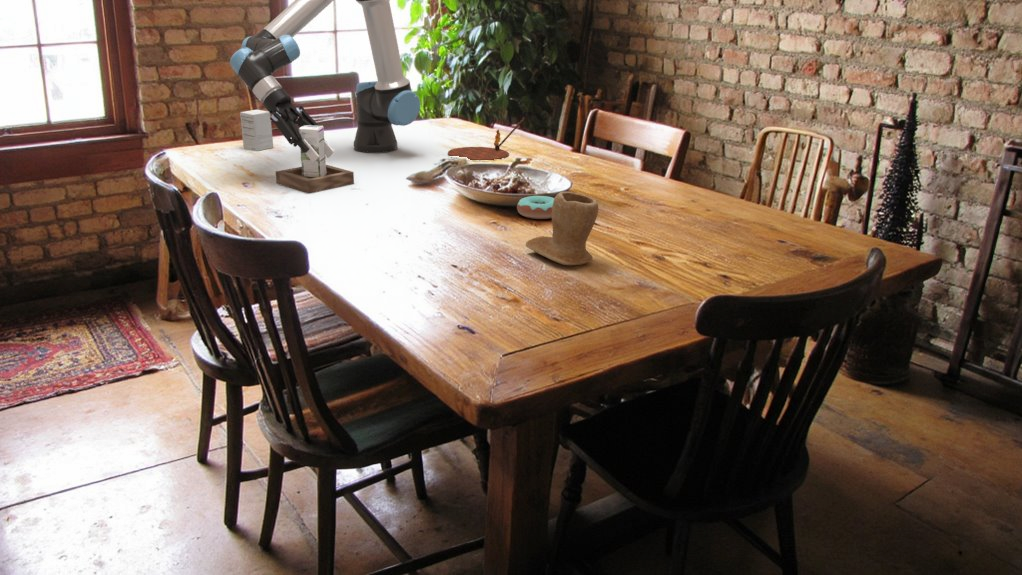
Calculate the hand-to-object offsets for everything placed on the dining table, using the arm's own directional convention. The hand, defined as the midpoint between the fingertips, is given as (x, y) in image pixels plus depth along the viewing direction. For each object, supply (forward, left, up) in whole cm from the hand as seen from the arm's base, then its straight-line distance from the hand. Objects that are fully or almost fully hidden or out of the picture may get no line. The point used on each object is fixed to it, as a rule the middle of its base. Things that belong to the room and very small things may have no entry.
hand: (323, 156), depth 244 cm
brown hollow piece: (+1, +91, -9) cm, 91 cm away
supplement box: (-14, -57, -8) cm, 60 cm away
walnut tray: (+1, -3, -8) cm, 9 cm away
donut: (-22, +64, -9) cm, 68 cm away
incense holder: (-67, +3, -9) cm, 67 cm away
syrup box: (+1, -3, -6) cm, 7 cm away
